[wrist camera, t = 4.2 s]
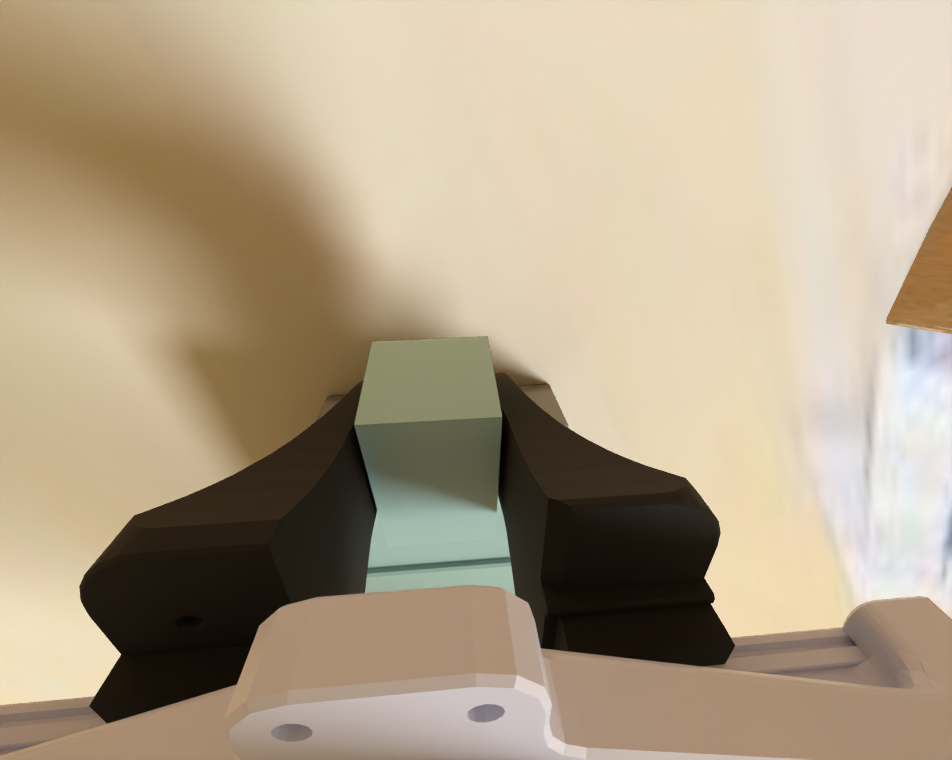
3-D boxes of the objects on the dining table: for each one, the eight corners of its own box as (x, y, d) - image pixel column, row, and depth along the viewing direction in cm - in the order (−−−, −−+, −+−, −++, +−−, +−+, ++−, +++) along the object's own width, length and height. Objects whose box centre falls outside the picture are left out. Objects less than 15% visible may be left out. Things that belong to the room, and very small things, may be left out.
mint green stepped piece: (547, 619, 23) (559, 682, 21) (360, 635, 23) (352, 702, 20) (628, 330, 11) (680, 406, 9) (219, 348, 10) (156, 436, 8)
